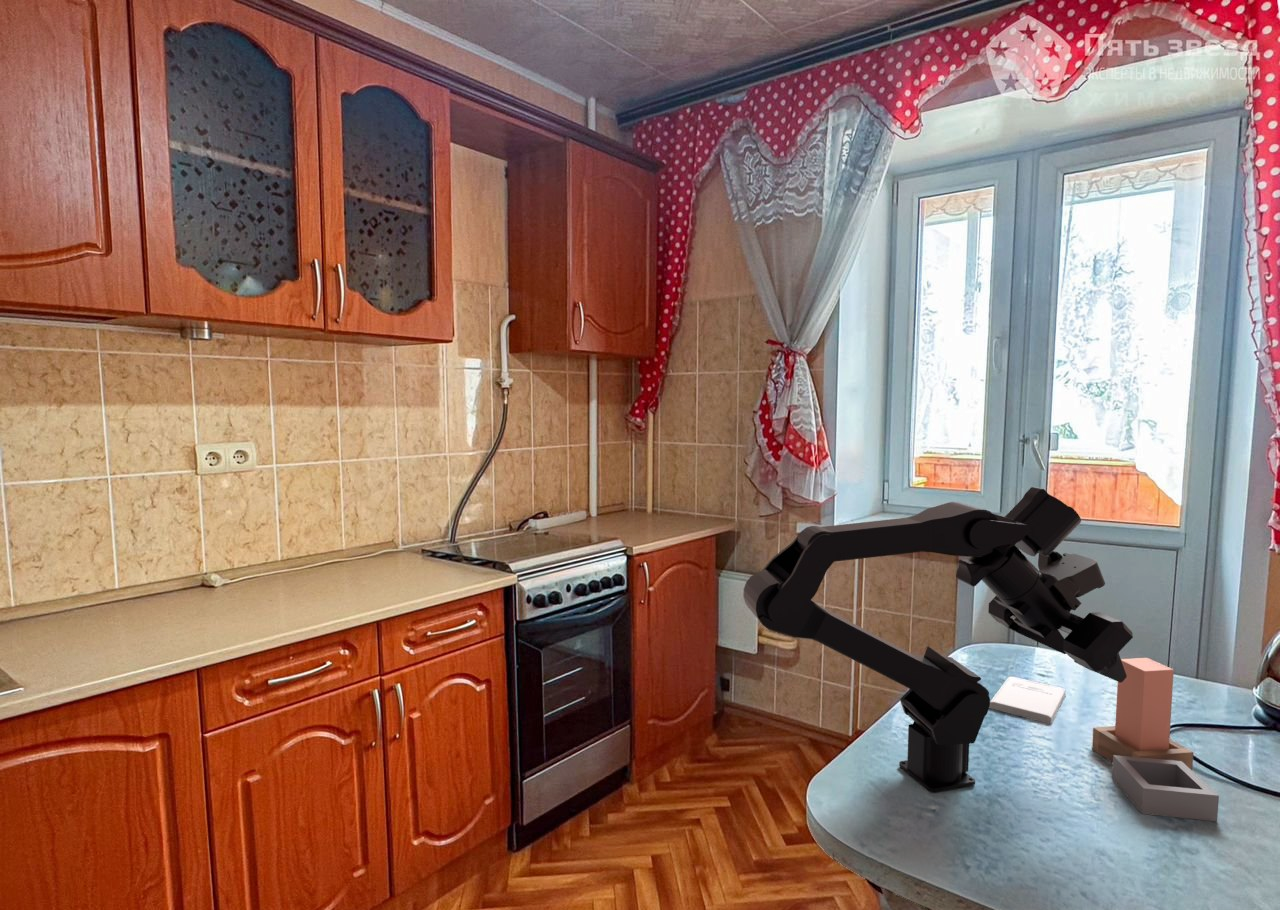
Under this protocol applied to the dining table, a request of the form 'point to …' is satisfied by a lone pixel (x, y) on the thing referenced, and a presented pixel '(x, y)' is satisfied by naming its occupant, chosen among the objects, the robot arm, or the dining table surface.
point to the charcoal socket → (1165, 788)
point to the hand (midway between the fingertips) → (1093, 664)
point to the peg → (1144, 705)
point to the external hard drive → (1028, 699)
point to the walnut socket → (1112, 745)
